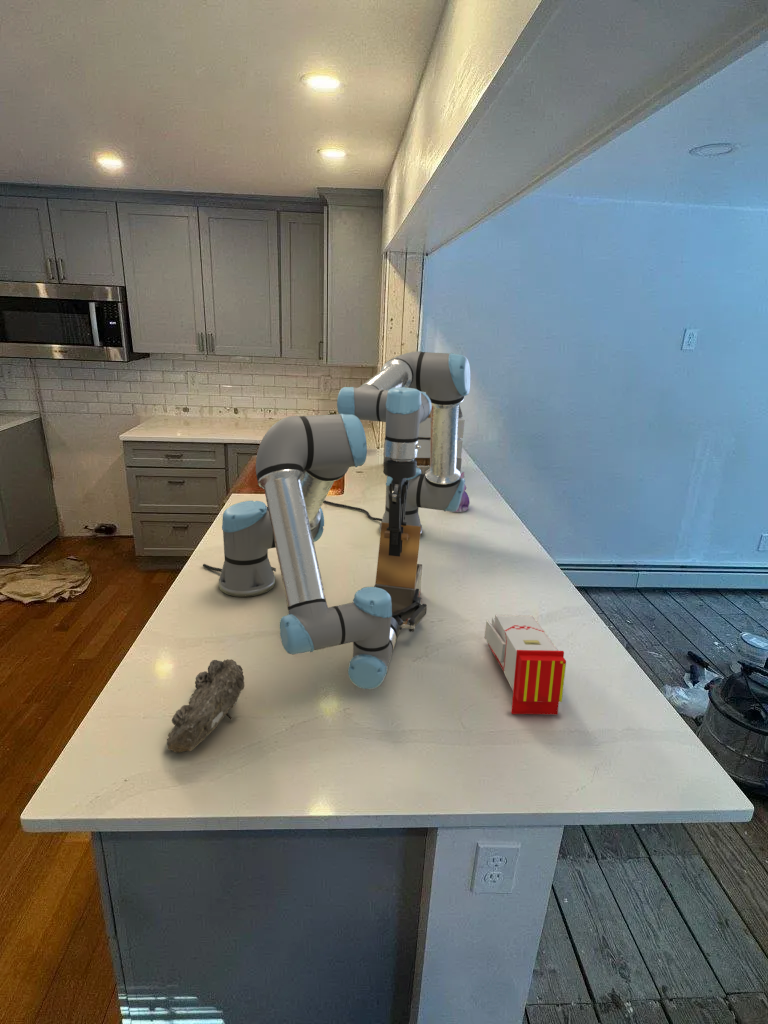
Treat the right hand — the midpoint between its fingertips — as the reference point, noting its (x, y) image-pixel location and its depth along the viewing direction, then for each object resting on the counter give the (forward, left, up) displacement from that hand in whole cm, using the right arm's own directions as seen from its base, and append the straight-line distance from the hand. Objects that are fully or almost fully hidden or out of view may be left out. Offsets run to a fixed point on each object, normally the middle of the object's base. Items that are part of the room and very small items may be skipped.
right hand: (395, 553), depth 136 cm
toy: (+32, +9, -19) cm, 39 cm away
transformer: (-97, +103, -19) cm, 143 cm away
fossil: (+5, -50, -19) cm, 54 cm away
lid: (-4, +4, -3) cm, 6 cm away
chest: (-6, +8, -19) cm, 22 cm away
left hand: (-4, +5, -13) cm, 15 cm away
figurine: (-50, +80, -19) cm, 96 cm away
